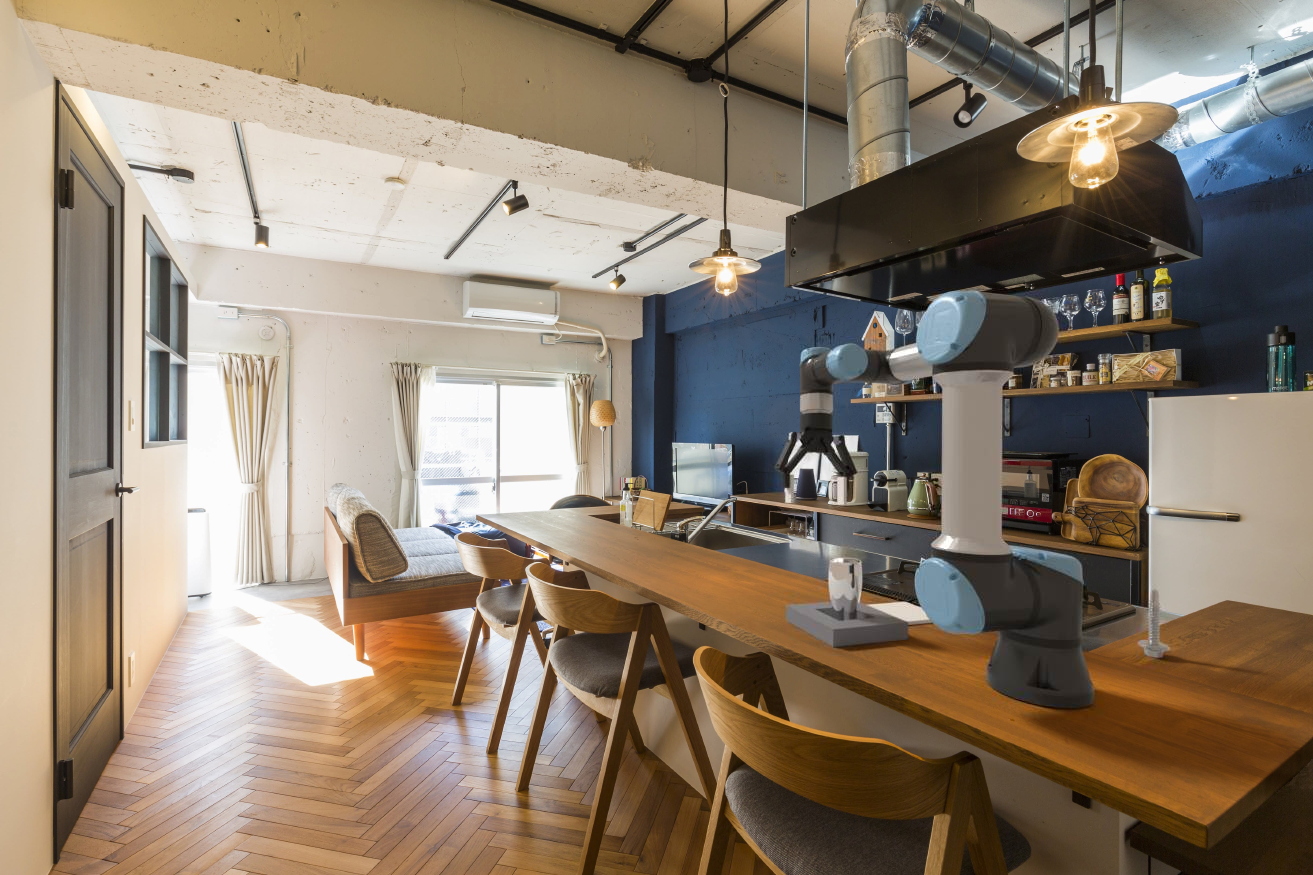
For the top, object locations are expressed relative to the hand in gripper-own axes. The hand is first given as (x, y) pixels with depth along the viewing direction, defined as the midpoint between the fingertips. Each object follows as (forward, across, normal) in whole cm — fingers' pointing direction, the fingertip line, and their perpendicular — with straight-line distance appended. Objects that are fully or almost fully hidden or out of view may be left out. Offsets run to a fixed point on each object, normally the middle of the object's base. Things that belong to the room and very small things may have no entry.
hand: (816, 504), depth 142 cm
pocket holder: (+27, -2, +9) cm, 28 cm away
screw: (+28, -52, +36) cm, 69 cm away
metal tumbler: (+27, -2, +9) cm, 28 cm away
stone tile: (+25, -22, +2) cm, 33 cm away
